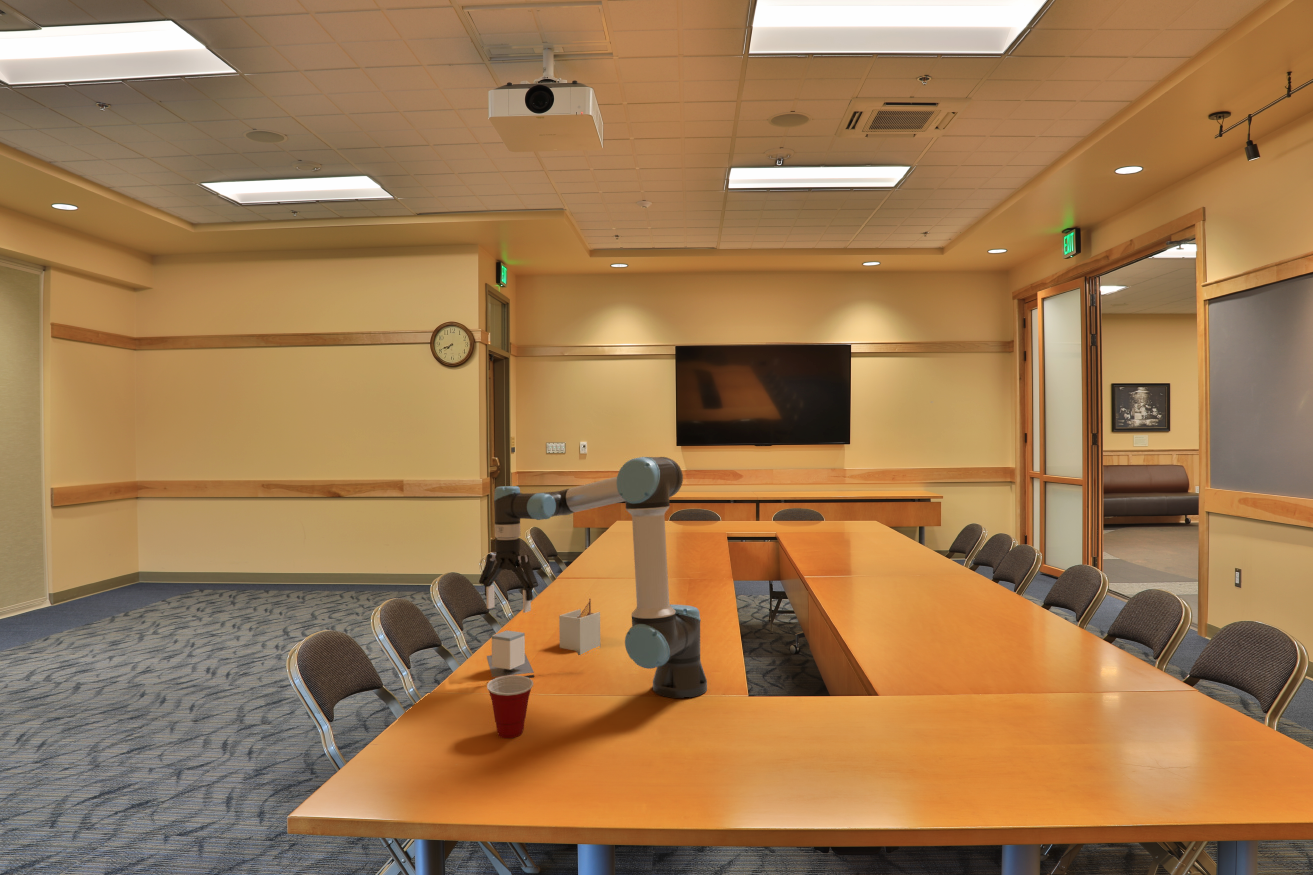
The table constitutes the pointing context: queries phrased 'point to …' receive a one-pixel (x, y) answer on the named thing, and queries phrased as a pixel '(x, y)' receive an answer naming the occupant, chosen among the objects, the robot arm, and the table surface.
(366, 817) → the table surface
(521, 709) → the plastic cup
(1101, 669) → the table surface
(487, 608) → the robot arm
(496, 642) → the white block
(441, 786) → the table surface
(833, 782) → the table surface
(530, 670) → the post base
